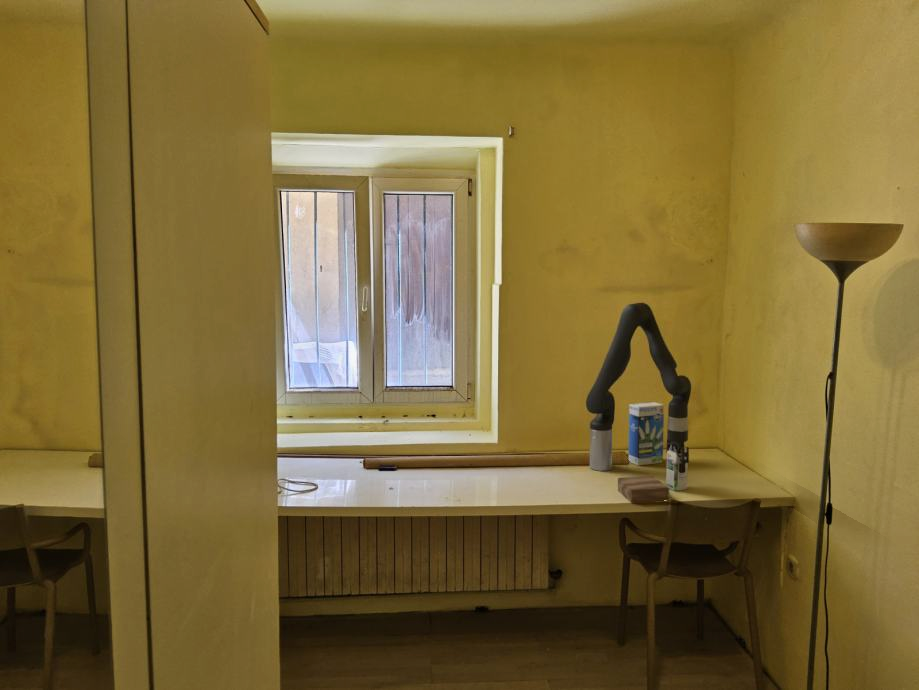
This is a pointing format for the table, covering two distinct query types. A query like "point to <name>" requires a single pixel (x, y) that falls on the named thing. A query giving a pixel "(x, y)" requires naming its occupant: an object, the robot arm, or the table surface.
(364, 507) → the table surface
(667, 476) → the syrup box
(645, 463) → the string lights box
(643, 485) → the walnut block
